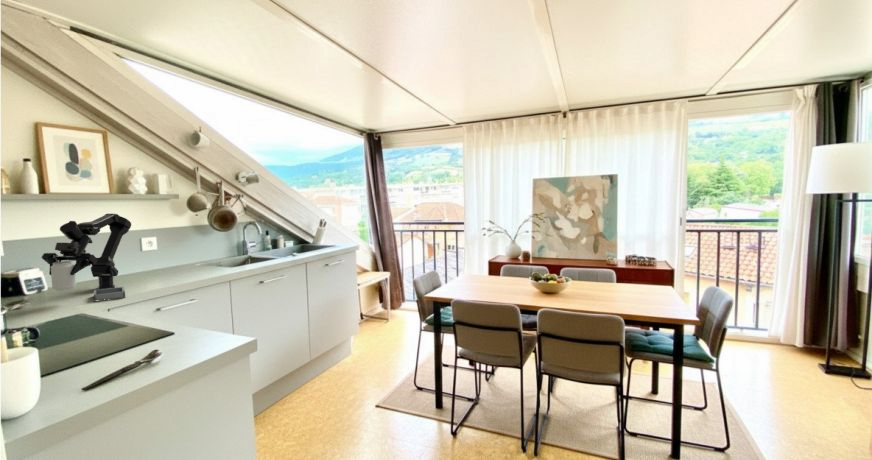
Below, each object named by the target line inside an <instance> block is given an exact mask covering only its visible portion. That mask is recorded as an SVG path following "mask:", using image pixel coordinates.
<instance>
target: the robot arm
mask: <svg viewBox="0 0 872 460" xmlns="http://www.w3.org/2000/svg"><path fill="white" fill-rule="evenodd" d="M106 226H109V230H110V234H109V236H108V239H107V241H106V244H105V246H104V248H103V251H102V253H101V256H99V257H96V256H95V254H93V253H92V252H87V250H86V248H87V246H88V244H93V240H92V237H90V236H96V235H98V233H100V232H101V229H103V228H105V227H106ZM131 227H132V222H131V221H130V220H129V219H128V218H126V217H123V216H121V215H119V214H118V213H105V214H104V215H102V216H100V217H98V218H95V219H94V220H91V221H85V222H80V223H77V222H76V220H69V221H68V222H67V223H64V224H62V225H61V226H60V227H59V231H60V233H62V234H63V235H64V236H65V237H66V238H67V239H68V240H70V242H56V243H55V246H54V250H55V251H59V253H60V254H61V255H58V254H57V253H56V252H44V253H43V254H42V255H41V260H43V261H44V262H46V263H47V264H48V265H49V273H48V274H49V275H50V276H51V266H52V265H53V263H55V262H62V261H72V262H73V261H74V262H75V264H74V267H73V269H72V271H71V273H70V274H71V275H74V274H75V275H76V274H77V273H79V272H80V271H82V270H83V269H85V268H86V267H87V268H88V267H90V266H91V267H90V271H91V275H92V277H93V278H98V279H97V281H98V286H97V290H99V289H108V288H116V286H115V284H114V277H117V276H118V275H119V270H118V269H117V267H115V266H116V264H115V261H114V257H115V254H116V253H117V250H118V247H119V245H120V242H122V241H121V240H122V238H123V236H124V235H125V234H127V233H128V232H129V231H130V229H131Z"/></svg>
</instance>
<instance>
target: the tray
mask: <svg viewBox="0 0 872 460" xmlns="http://www.w3.org/2000/svg"><path fill="white" fill-rule="evenodd" d="M125 291H126V289H125V287H124V286H119V287H115V288H108V289H99V290H98V289H94V290H93V301H94V300H104V299H105V300H104V301H109V300H108V299H111V300H110V301H113V300H117V299H125V298H126V292H125Z"/></svg>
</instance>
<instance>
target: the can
mask: <svg viewBox="0 0 872 460" xmlns="http://www.w3.org/2000/svg"><path fill="white" fill-rule="evenodd" d="M74 265H75V264H74V263H73V261H68V260H61V262H55V263H53V265H52V266H51V275H50V276H51V288H52V289H53V290H55V291H58V292H59V291H60V292H61V291H69V290H72V289H74V288H75V287H77V281H76V279H77V278H76V273H75V274H74V275H71V274H70V273H71V271H72V269H73V267H74Z"/></svg>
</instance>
